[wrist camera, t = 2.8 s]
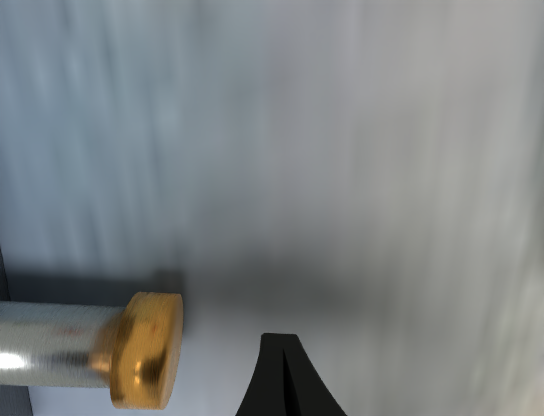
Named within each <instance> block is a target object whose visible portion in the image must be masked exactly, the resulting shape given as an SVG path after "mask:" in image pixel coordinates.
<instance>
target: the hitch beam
mask: <svg viewBox="0 0 544 416" xmlns="http://www.w3.org/2000/svg"><path fill="white" fill-rule="evenodd" d="M0 301H10V297H9V292H8V287H7V282H6V277H5V271H4V266H3V261H2V256H1V251H0ZM0 416H33V415H32V410H31V405H30V400H29V395H28V390H27V386H16V385H0Z"/></svg>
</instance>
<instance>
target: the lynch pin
mask: <svg viewBox="0 0 544 416" xmlns="http://www.w3.org/2000/svg"><path fill="white" fill-rule="evenodd" d="M182 331H183V301H182V296H181V295H180V294H173V293H154V292H137V293H136V294H135V295H134V296H133V297H132V298H131V300H130V301H129V303H128V305H127V307H115V306H95V305H74V304H54V303H34V302H14V301H0V385H16V386H49V387H81V388H110V395H111V400H112V403H113V406H114V407H115V408H117V409H151V410H163V409H164V408H165V407H166V405H167V403H168V401H169V399H170V396H171V393H172V389H173V385H174V381H175V377H176V372H177V367H178V362H179V356H180V349H181V341H182Z"/></svg>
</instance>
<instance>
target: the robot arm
mask: <svg viewBox="0 0 544 416" xmlns="http://www.w3.org/2000/svg"><path fill="white" fill-rule="evenodd" d="M235 416H347V415H346V414H345V412H344V411H343V410H342V409H341V407H340V406H339V405H338V403H337V402H336V400H335V399H334V398H333V396H332V395H331V393H330V392H329V390H328V389H327V387H326V386H325V384H324V383H323V381H322V380H321V378H320V376H319V375H318V373H317V372H316V370H315V368H314V367H313V365H312V363H311V361H310V360H309V358H308V356H307V354H306V352H305V350H304V348H303V346H302V344H301V342H300V340H299V338H298V336H297V335H296V334H277V333H264V334H262V335H261V343H260V352H259V357H258V361H257V364H256V367H255V370H254V373H253V376H252V379H251V382H250V384H249V387H248V389H247V392H246V394H245V396H244V399H243V401H242V403H241V405H240V407H239V409H238V411H237V413H236V415H235Z"/></svg>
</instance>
